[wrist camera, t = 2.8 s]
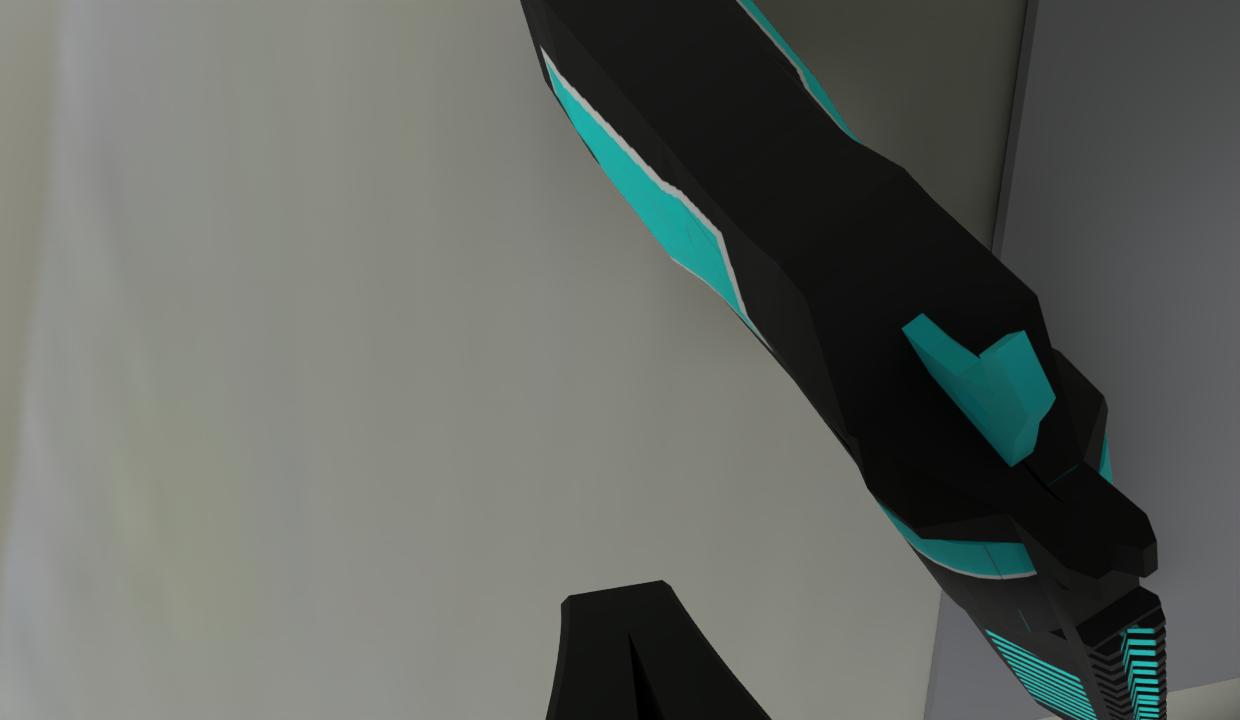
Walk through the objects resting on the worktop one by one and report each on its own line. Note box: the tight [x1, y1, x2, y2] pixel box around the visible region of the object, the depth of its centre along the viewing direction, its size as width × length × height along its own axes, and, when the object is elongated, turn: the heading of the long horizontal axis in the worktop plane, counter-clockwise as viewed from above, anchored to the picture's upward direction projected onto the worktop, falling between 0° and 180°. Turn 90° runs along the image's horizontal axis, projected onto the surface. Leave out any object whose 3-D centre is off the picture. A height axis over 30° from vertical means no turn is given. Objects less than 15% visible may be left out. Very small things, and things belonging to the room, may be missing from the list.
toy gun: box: [520, 0, 1167, 720], centre depth 13 cm, size 3×20×10 cm, turn 39°
